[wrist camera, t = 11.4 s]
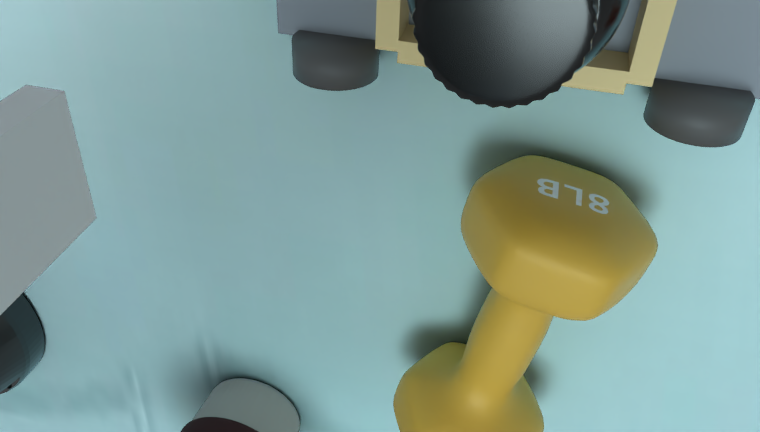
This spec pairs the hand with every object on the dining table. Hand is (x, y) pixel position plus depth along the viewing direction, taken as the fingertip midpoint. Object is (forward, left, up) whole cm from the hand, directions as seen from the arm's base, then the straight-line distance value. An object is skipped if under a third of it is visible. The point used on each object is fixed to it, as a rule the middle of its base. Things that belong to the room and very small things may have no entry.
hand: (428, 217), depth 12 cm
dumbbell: (+2, -20, -22) cm, 30 cm away
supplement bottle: (0, 0, -21) cm, 21 cm away
